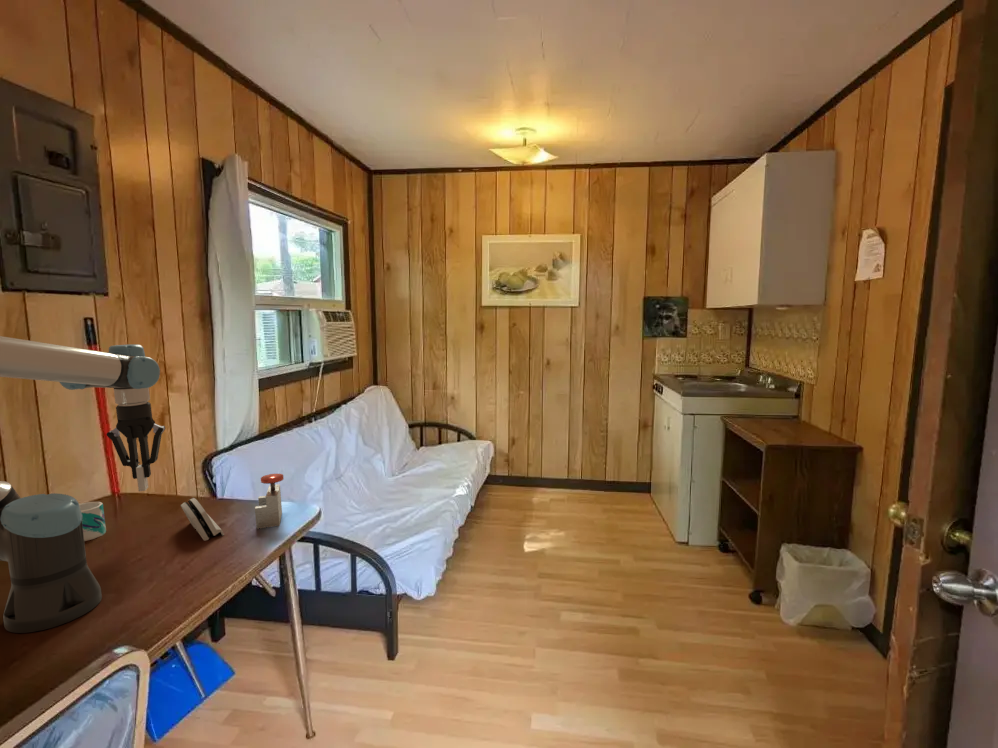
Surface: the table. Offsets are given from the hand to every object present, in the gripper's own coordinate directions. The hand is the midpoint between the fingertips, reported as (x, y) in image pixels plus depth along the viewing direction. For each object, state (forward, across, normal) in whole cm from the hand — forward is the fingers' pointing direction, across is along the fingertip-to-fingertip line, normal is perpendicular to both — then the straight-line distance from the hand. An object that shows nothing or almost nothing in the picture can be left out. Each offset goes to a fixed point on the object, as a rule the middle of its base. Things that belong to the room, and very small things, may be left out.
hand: (143, 489), depth 138 cm
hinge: (+14, -13, 0) cm, 19 cm away
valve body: (+14, -30, 0) cm, 33 cm away
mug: (+14, +17, -10) cm, 24 cm away
